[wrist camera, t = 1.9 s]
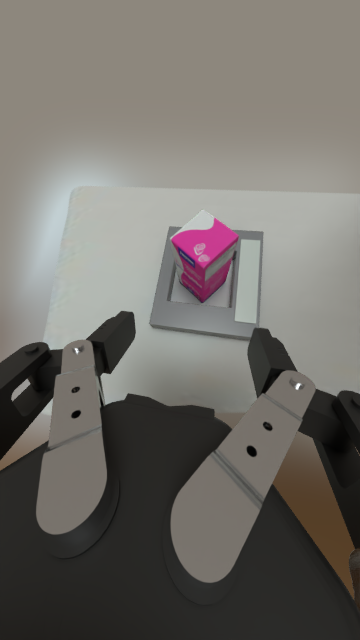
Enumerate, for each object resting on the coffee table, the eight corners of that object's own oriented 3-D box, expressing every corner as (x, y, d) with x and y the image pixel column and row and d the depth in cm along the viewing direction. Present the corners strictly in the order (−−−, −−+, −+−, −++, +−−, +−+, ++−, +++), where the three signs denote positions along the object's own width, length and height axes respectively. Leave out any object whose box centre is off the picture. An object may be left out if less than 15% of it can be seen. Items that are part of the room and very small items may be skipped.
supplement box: (178, 283, 31) (167, 236, 20) (202, 261, 32) (204, 205, 21) (201, 305, 30) (203, 267, 19) (226, 282, 30) (242, 232, 19)
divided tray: (258, 242, 32) (264, 230, 29) (253, 341, 27) (259, 338, 25) (171, 236, 34) (169, 225, 31) (153, 327, 29) (148, 323, 27)
